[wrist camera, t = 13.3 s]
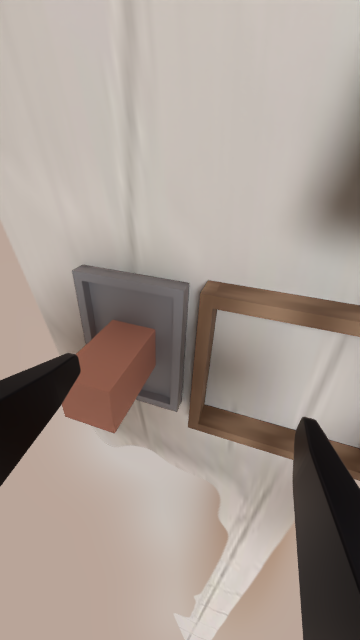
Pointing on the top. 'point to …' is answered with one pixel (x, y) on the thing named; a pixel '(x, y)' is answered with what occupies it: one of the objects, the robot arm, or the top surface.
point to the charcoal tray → (140, 321)
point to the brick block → (111, 374)
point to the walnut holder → (273, 308)
